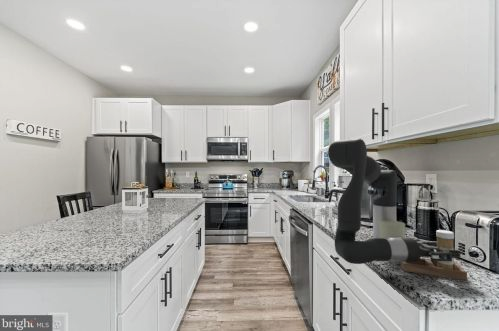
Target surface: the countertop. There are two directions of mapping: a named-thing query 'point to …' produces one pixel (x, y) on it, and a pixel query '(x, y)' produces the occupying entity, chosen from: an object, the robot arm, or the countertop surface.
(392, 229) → the can
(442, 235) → the sprinkles bottle
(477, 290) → the countertop surface
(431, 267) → the holder
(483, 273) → the countertop surface
